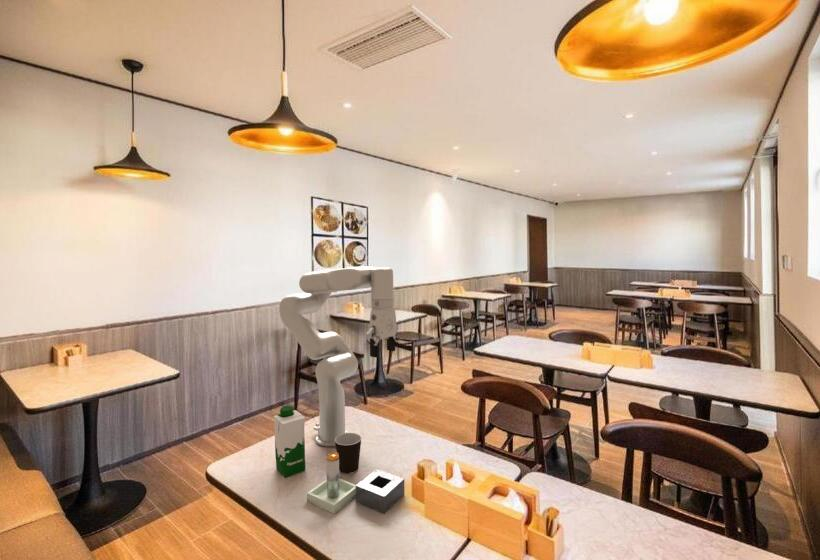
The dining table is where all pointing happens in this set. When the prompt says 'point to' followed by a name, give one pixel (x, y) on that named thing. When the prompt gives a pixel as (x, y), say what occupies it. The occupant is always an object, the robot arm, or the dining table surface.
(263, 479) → the dining table surface
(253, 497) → the dining table surface
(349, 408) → the dining table surface
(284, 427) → the milk carton
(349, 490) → the tray
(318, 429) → the robot arm
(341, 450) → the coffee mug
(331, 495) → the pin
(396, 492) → the grey square box
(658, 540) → the dining table surface
